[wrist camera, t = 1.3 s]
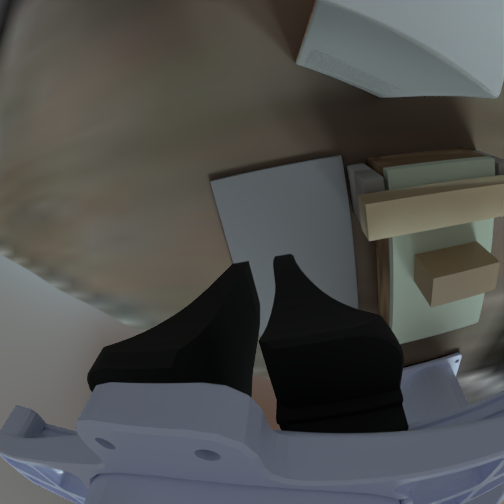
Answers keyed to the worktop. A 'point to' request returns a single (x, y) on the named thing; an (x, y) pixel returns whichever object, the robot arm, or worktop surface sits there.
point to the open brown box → (373, 181)
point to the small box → (408, 46)
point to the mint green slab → (439, 259)
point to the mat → (291, 226)
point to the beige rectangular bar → (430, 206)
